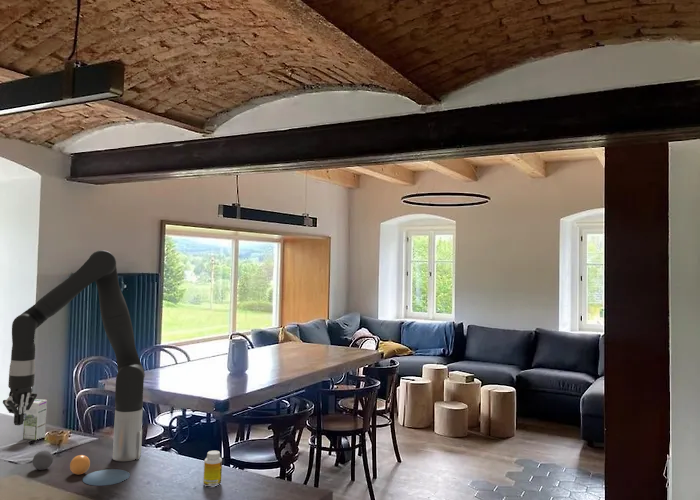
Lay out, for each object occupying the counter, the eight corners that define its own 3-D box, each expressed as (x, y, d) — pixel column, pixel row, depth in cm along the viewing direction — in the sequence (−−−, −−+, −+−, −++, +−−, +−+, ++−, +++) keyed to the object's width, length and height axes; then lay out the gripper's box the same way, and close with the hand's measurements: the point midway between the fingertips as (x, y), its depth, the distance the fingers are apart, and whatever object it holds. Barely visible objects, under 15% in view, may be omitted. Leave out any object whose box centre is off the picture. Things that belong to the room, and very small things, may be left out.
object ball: (91, 470, 188) (92, 452, 188) (87, 476, 182) (88, 458, 183) (71, 471, 187) (72, 452, 187) (67, 477, 181) (68, 458, 181)
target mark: (132, 468, 191) (132, 468, 191) (126, 484, 177) (126, 483, 177) (87, 470, 188) (87, 470, 188) (78, 486, 174) (78, 486, 174)
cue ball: (54, 465, 191) (55, 448, 191) (49, 472, 185) (50, 453, 185) (35, 466, 190) (36, 448, 190) (29, 473, 184) (30, 454, 184)
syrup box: (45, 436, 223) (47, 399, 224) (35, 440, 217) (38, 402, 218) (32, 435, 224) (34, 398, 224) (22, 439, 218) (24, 401, 218)
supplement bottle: (222, 487, 178) (223, 454, 178) (204, 489, 176) (205, 455, 177) (219, 480, 183) (221, 449, 184) (202, 482, 181) (203, 450, 182)
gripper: (16, 377, 183) (12, 431, 183) (45, 370, 196) (42, 420, 196) (-4, 375, 185) (-7, 428, 184) (27, 369, 198) (24, 418, 197)
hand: (18, 424), depth 190 cm, fingers closed
